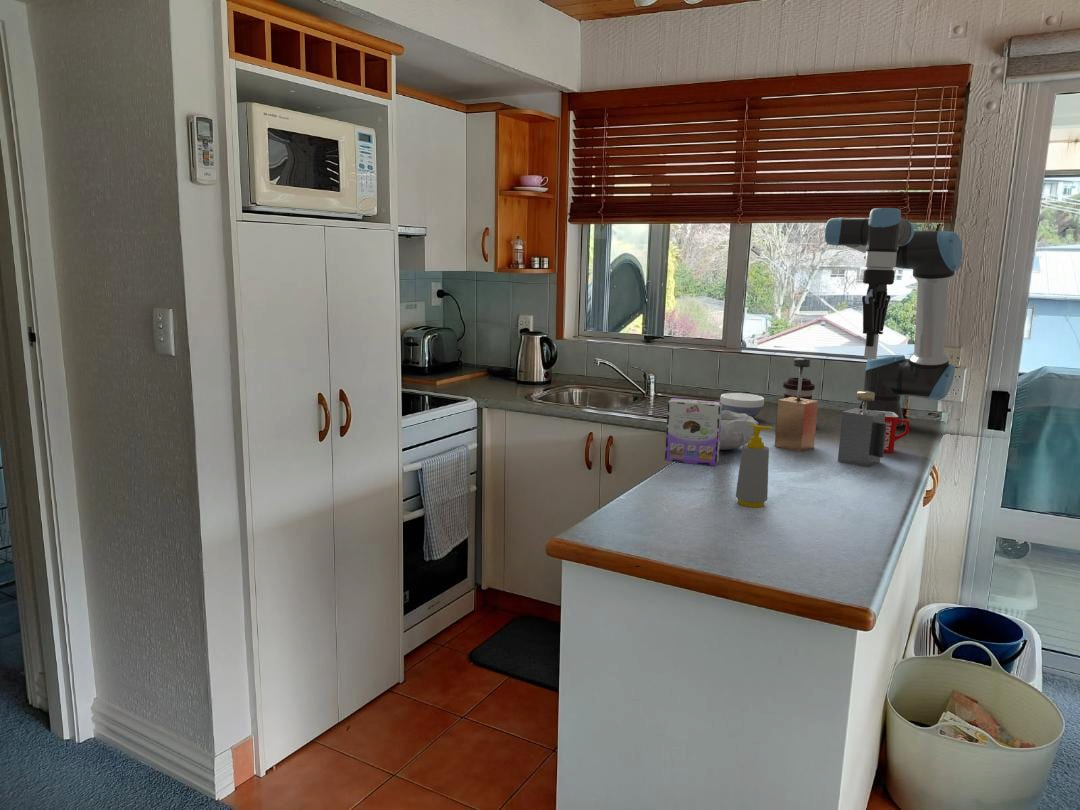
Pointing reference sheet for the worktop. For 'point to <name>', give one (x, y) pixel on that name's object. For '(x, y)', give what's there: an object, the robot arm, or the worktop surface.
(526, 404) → the worktop surface
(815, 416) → the tall wooden block
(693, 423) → the candy box
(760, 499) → the soap bottle
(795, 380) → the coffee cup
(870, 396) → the beige t-shaped piece
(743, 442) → the white crumpled bag
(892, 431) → the mug
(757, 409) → the bowl
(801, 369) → the grey t-shaped piece
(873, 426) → the grey block
